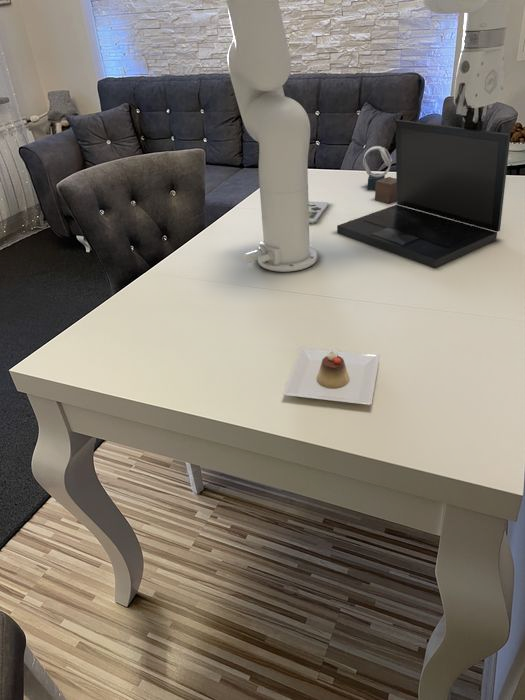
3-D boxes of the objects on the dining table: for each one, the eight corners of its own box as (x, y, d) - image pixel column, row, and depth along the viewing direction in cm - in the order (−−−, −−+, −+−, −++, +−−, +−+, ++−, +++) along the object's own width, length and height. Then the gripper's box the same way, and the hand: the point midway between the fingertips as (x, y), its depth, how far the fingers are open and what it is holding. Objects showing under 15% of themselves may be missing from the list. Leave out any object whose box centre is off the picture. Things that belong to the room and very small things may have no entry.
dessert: (371, 411, 70) (372, 381, 67) (282, 400, 73) (280, 372, 71) (379, 360, 80) (381, 333, 77) (300, 353, 83) (299, 326, 80)
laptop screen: (507, 135, 101) (510, 133, 102) (395, 120, 121) (397, 119, 121) (497, 232, 113) (500, 230, 114) (396, 204, 133) (398, 203, 133)
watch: (390, 190, 149) (392, 149, 143) (361, 190, 151) (362, 149, 145) (391, 184, 153) (393, 144, 147) (363, 184, 155) (364, 144, 149)
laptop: (435, 268, 105) (436, 259, 104) (337, 232, 124) (337, 225, 123) (496, 240, 114) (497, 231, 113) (395, 211, 134) (396, 204, 133)
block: (389, 203, 139) (390, 184, 137) (374, 199, 143) (375, 180, 140) (402, 199, 142) (403, 180, 139) (387, 195, 145) (388, 176, 142)
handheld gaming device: (329, 201, 142) (315, 220, 130) (329, 204, 142) (315, 223, 130) (297, 200, 144) (280, 219, 133) (297, 203, 145) (280, 222, 133)
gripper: (476, 45, 95) (464, 151, 105) (524, 35, 102) (508, 136, 112) (441, 45, 101) (433, 146, 111) (489, 36, 107) (477, 132, 117)
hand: (471, 141), depth 111 cm, fingers closed
